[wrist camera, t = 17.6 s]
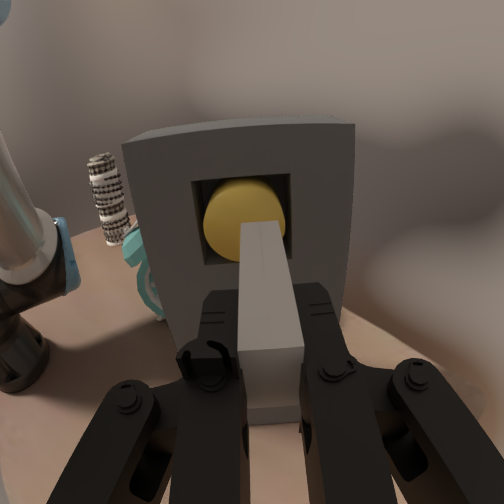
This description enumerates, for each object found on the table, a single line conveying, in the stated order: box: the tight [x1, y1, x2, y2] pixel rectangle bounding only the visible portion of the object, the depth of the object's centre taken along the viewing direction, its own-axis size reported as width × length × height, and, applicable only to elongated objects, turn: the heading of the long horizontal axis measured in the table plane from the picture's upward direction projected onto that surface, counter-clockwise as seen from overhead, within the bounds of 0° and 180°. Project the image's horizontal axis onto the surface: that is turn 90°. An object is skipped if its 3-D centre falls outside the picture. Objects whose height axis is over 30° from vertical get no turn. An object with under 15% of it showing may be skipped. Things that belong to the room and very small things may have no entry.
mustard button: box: [203, 175, 285, 262], centre depth 20 cm, size 4×5×5 cm
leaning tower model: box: [87, 153, 131, 246], centre depth 75 cm, size 9×9×25 cm
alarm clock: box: [122, 220, 166, 321], centre depth 49 cm, size 17×10×20 cm, turn 99°
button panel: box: [121, 115, 355, 425], centre depth 27 cm, size 6×14×33 cm, turn 91°
